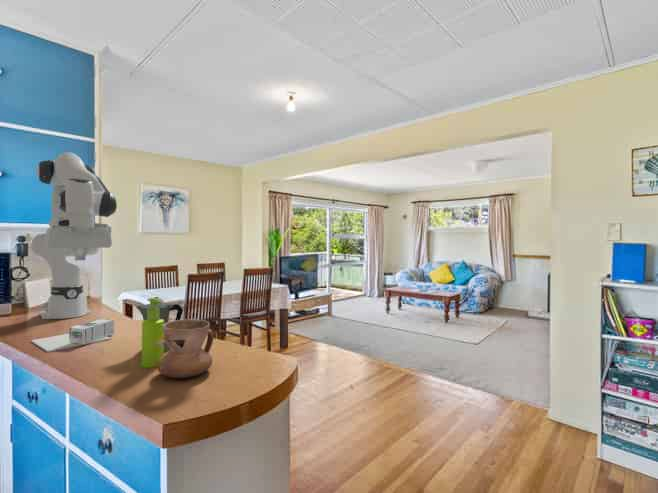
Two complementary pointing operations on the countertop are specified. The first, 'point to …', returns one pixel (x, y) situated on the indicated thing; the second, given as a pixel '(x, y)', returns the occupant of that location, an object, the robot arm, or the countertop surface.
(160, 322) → the soap dispenser
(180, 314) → the coffeepot
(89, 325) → the syrup box
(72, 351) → the countertop surface
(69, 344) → the grey mat
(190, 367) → the ceramic jug
